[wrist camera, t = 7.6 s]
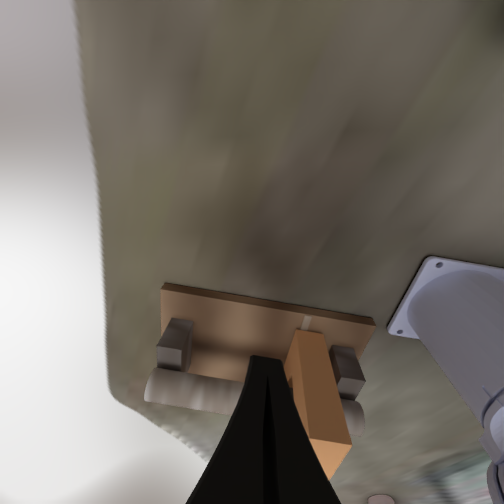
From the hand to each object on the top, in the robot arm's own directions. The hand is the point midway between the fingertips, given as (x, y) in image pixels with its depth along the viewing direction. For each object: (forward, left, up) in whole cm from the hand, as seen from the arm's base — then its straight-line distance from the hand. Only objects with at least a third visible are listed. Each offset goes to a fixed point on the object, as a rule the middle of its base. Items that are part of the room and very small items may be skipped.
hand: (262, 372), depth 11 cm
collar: (-5, +10, -9) cm, 14 cm away
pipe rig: (-1, +10, -10) cm, 14 cm away
